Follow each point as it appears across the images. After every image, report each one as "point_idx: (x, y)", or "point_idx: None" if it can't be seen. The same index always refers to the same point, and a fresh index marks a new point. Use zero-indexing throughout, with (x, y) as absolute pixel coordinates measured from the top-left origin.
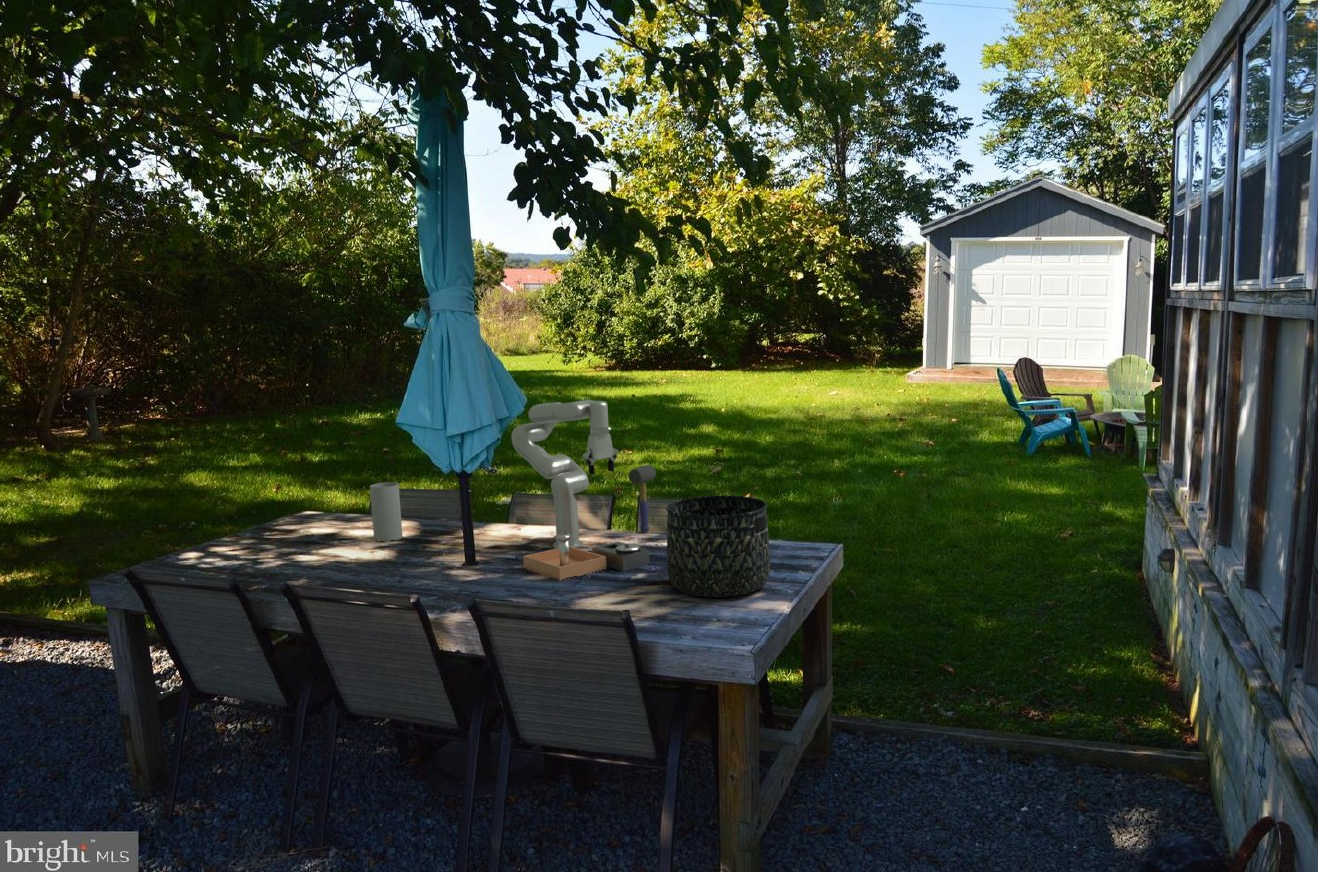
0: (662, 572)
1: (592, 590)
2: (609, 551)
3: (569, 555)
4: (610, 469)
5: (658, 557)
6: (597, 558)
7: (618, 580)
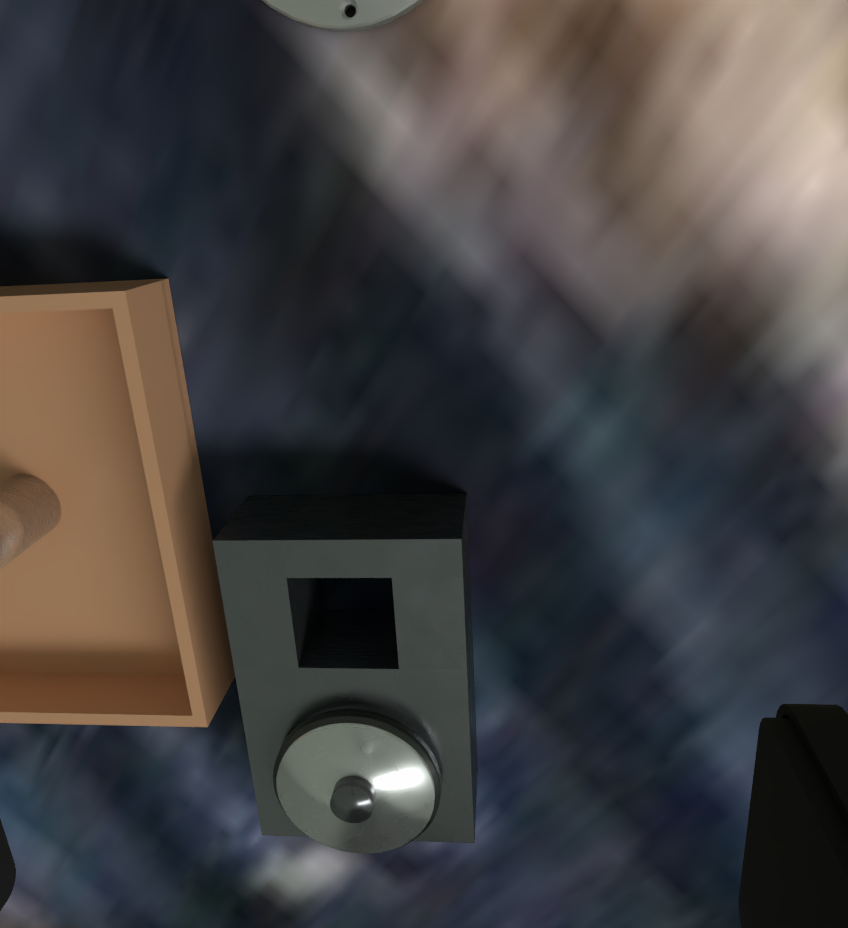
0: (430, 904)
1: None
2: (254, 707)
3: (14, 558)
4: (764, 886)
5: (626, 695)
6: (145, 723)
7: (183, 857)
